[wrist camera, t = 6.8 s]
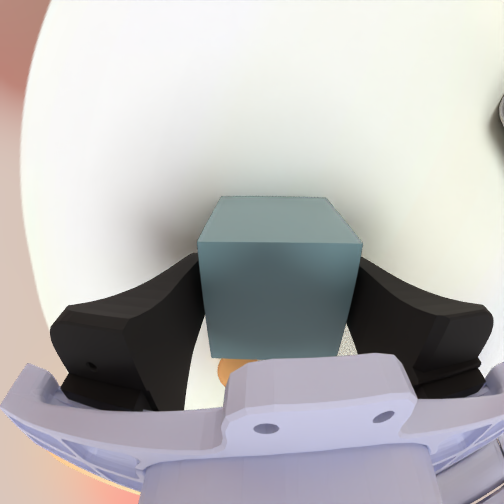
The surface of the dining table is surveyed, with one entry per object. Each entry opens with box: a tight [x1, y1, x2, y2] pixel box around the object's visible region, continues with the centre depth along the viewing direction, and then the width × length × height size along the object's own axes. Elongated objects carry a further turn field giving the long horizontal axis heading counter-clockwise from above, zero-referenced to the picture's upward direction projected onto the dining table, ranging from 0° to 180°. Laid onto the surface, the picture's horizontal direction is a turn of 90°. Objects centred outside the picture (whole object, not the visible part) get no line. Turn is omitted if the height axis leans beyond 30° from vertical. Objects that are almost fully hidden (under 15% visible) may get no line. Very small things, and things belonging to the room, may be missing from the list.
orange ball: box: [218, 358, 257, 387], centre depth 18 cm, size 3×3×3 cm
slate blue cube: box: [197, 196, 363, 360], centre depth 13 cm, size 6×6×6 cm
